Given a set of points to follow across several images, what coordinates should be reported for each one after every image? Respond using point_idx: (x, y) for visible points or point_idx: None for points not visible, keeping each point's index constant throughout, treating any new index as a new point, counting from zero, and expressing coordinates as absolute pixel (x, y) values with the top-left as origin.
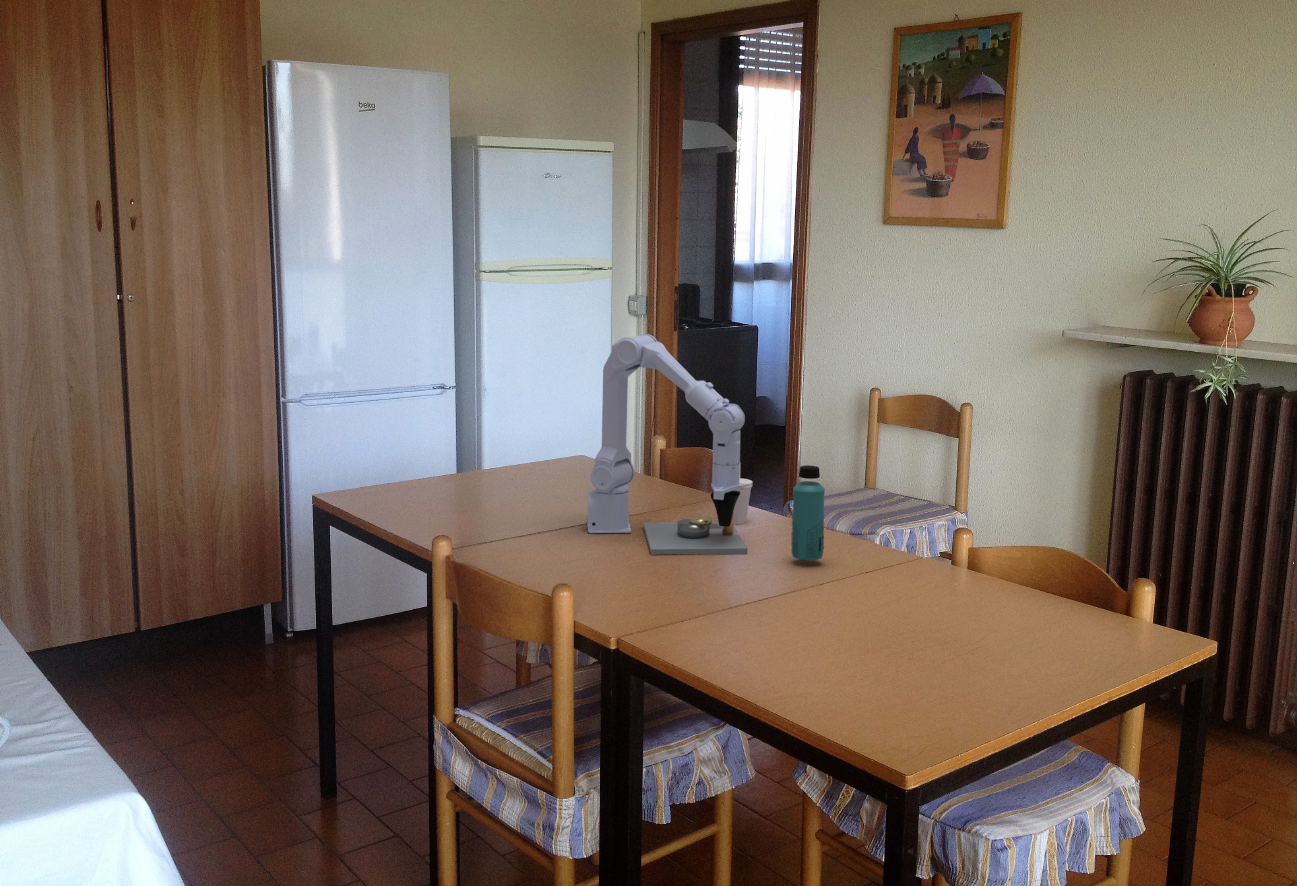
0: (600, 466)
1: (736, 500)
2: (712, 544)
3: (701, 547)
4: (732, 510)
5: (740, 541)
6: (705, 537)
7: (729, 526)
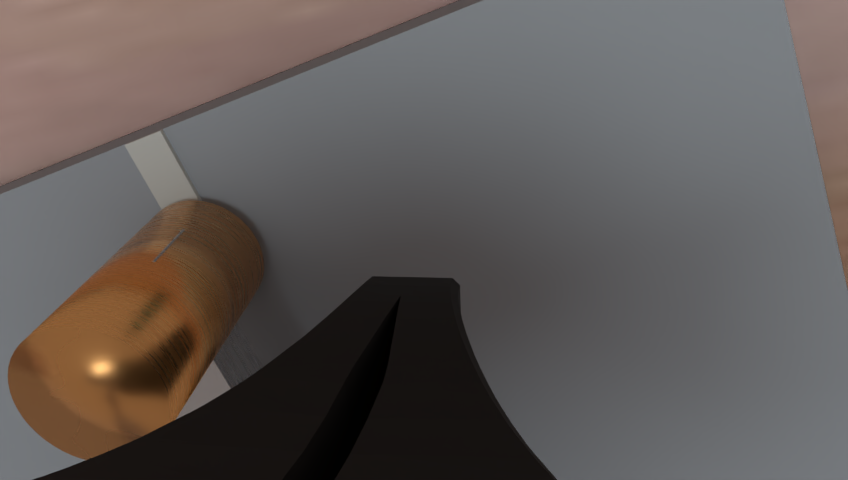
0: None
1: (182, 468)
2: (660, 325)
3: (811, 403)
4: (410, 387)
5: (438, 57)
6: None
7: (220, 278)
